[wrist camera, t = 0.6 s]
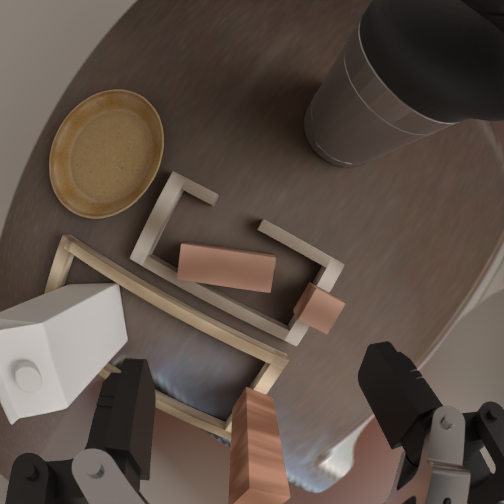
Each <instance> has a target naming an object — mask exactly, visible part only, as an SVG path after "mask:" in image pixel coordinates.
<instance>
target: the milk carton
mask: <svg viewBox="0 0 504 504" xmlns="http://www.w3.org/2000/svg"><path fill="white" fill-rule="evenodd" d="M127 341H128V338H127V332H126V327H125V321H124V315H123V308H122V302H121V294H120V287H119V284H118V283H94V284H69V285H66V286H63V287H61V288H58V289H56V290H53V291H51V292H48V293H46V294H43V295H41V296H38V297H36V298H33V299H31V300H28V301H26V302H23V303H21V304H19V305H16V306H14V307H11V308H9V309H6V310H4V311H2V312H0V402H1V405H2V407H3V409H4V411H5V414H6V416H7V418H8V420H9V422H10V424H13V423H14V422H15V421H17V420H18V419H19V418H23V417H29V416H34V415H39V414H44V413H49V412H53V411H58V410H62V409H66V408H67V407H68V406H69V405H70V404H71V403H72V402H73V401H74V400H75V398H76V397H77V396H78V395H79V394H80V393H81V392H82V391H83V389H84V388H85V387H86V386H87V385H88V384H89V383H90V382H91V381H92V379H93V378H94V377H95V376H96V375H97V374H98V373H99V372H100V371H101V369H102V368H103V367H104V366H105V365H106V364H107V363H108V362H109V361H110V360H111V359H112V357H113V356H114V355H115V354H116V353H117V352H118V351H119V350H120V349H121V348H122V347H123V346H124V344H125V343H126V342H127Z"/></svg>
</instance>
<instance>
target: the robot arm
mask: <svg viewBox="0 0 504 504" xmlns="http://www.w3.org/2000/svg"><path fill="white" fill-rule="evenodd" d="M469 118H473V119H480V120H487V121H503V120H504V0H373V1H372V2H371V3H370V5H369V7H368V8H367V10H366V11H365V13H364V15H363V16H362V18H361V20H360V21H359V23H358V24H357V26H356V28H355V29H354V31H353V32H352V34H351V36H350V37H349V39H348V41H347V43H346V44H345V46H344V48H343V49H342V51H341V53H340V54H339V56H338V58H337V59H336V61H335V63H334V64H333V66H332V68H331V69H330V71H329V73H328V74H327V76H326V78H325V79H324V81H323V83H322V84H321V86H320V88H319V89H318V91H317V93H316V94H315V96H314V98H313V99H312V101H311V103H310V105H309V106H308V108H307V110H306V113H305V116H304V130H305V135H306V137H307V140H308V142H309V144H310V145H311V147H312V149H313V150H314V151H315V152H316V153H317V154H318V155H319V156H320V157H321V158H323V159H324V160H325V161H327V162H329V163H331V164H333V165H336V166H340V167H349V168H351V167H357V166H360V165H362V164H365V163H367V162H369V161H371V160H374V159H376V158H379V157H381V156H383V155H385V154H387V153H390V152H392V151H394V150H396V149H399V148H401V147H403V146H405V145H408V144H410V143H412V142H415V141H417V140H419V139H422V138H424V137H426V136H428V135H431V134H433V133H435V132H437V131H440V130H442V129H444V128H447V127H449V126H451V125H454V124H456V123H459V122H461V121H463V120H466V119H469ZM358 382H359V385H360V387H361V389H362V391H363V393H364V395H365V397H366V399H367V401H368V403H369V405H370V407H371V409H372V411H373V413H374V415H375V417H376V419H377V420H378V423H379V425H380V427H381V429H382V431H383V433H384V435H385V437H386V439H387V441H388V443H389V445H390V447H391V449H395V448H398V447H400V446H403V448H404V451H403V453H402V455H401V459H400V462H399V466H398V470H397V473H396V477H395V480H394V484H393V487H392V490H391V493H390V495H389V496H388V498H387V499H386V501H385V502H384V504H504V410H503V409H502V407H501V406H500V405H499V404H497V403H495V402H486V403H484V404H483V405H482V406H481V407H480V409H479V410H478V411H477V412H471V413H461V412H460V411H459V410H458V409H456V408H454V407H451V406H443V405H442V404H441V402H440V401H439V399H438V398H437V396H436V395H435V393H434V392H433V391H432V389H431V388H430V386H429V385H428V384H427V382H426V381H425V379H424V378H422V375H421V373H420V372H419V371H417V368H416V366H415V365H414V364H413V362H412V361H411V360H410V359H409V358H408V357H407V356H405V355H404V354H402V353H401V352H397V351H396V350H395V348H394V347H393V345H392V344H391V343H390V342H388V341H386V342H381V343H375V344H370V345H369V346H368V348H367V351H366V353H365V356H364V359H363V362H362V364H361V367H360V369H359V372H358ZM99 396H100V397H99V399H98V402H97V408H96V410H95V414H94V417H93V421H92V426H91V429H90V434H89V439H88V442H87V446H86V448H85V449H84V450H83V451H81V452H80V453H78V454H77V455H76V456H75V458H73V459H70V460H64V461H50V462H45V461H44V460H43V459H42V458H41V457H40V456H38V455H36V454H33V453H25V454H22V455H20V456H19V457H17V458H16V460H15V461H14V463H13V466H12V471H11V475H10V480H9V485H8V491H7V497H6V503H5V504H149V503H148V502H147V500H146V499H145V498H144V497H143V495H142V494H141V493H140V491H139V489H140V480H149V478H150V460H151V447H152V433H153V423H154V413H155V404H156V394H155V387H154V383H153V380H152V376H151V373H150V369H149V365H148V362H147V360H146V359H127V358H126V359H125V360H124V362H123V365H122V369H121V373H114V372H111V374H110V375H109V376H108V377H107V378H106V380H105V381H104V382H103V384H102V388H101V392H100V395H99ZM484 446H485V447H486V449H487V450H488V452H489V454H490V456H491V458H492V459H493V461H494V463H495V466H496V471H495V473H494V474H492V473H491V472H490V470H489V467H488V466H487V464H486V462H485V460H484V458H483V456H482V454H481V452H480V449H481V448H483V447H484Z"/></svg>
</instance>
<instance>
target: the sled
mask: <svg viewBox="0 0 504 504" xmlns="http://www.w3.org/2000/svg"><path fill="white" fill-rule="evenodd" d="M74 255H75V256H76V257H78V258H79V259H80V260H82V261H83V262H85V263H86V264H88V265H90V266H91V267H93V268H94V269H96V270H97V271H99V272H100V273H102V274H103V275H105V276H107V277H108V278H110V279H111V280H113V281H115V282H116V283H118V284H119V285H121V286H123V287H124V288H126V289H128V290H129V291H131V292H133V293H134V294H136V295H138V296H139V297H141V298H143V299H144V300H146V301H148V302H150V303H151V304H153V305H155V306H157V307H158V308H160V309H162V310H164V311H165V312H167V313H169V314H171V315H173V316H175V317H176V318H178V319H180V320H182V321H184V322H186V323H187V324H189V325H191V326H193V327H195V328H197V329H199V330H201V331H203V332H205V333H207V334H209V335H211V336H213V337H215V338H217V339H219V340H221V341H223V342H225V343H227V344H229V345H231V346H233V347H235V348H237V349H239V350H241V351H243V352H245V353H248V354H250V355H252V356H254V357H256V358H258V359H261V360H263V361H265V364H264V366H263V367H262V369H261V370H260V372H259V373H258V375H257V376H256V378H255V379H254V381H253V382H252V384H251V385H250V387H249V388H248V387H246V388H245V389H244V391H243V392H242V394H241V395H240V397H239V398H238V400H237V401H236V403H235V404H234V406H233V407H232V413H231V415H230V416H229V418H228V419H227V421H226V422H225V421H222V420H220V419H217V418H215V417H213V416H210V415H208V414H206V413H203V412H201V411H199V410H197V409H194V408H192V407H190V406H188V405H186V404H183V403H181V402H179V401H177V400H175V399H173V398H171V397H169V396H167V395H165V394H163V393H161V392H159V391H157V390H155V394H156V404H155V407H157V408H158V409H160V410H162V411H165V412H166V413H169V414H171V415H173V416H175V417H177V418H179V419H181V420H184V421H186V422H188V423H190V424H192V425H195V426H197V427H199V428H202V429H204V430H207V431H209V432H212V433H214V434H217V435H219V436H222V437H224V438H227V439H230V440H231V451H230V477H229V504H283V503H284V502H286V501H287V500H288V499H289V498H290V492H289V487H288V481H287V475H286V469H285V464H284V458H283V453H282V447H281V441H280V436H279V430H278V424H277V419H276V413H275V407H274V402H273V397H270V396H268V395H266V394H267V393H268V391H269V390H270V388H271V387H272V385H273V384H274V382H275V381H276V379H277V378H278V376H279V375H280V373H281V372H282V370H283V369H284V367H285V366H286V364H287V363H288V361H289V360H288V357H287V354H286V353H283V352H281V351H279V350H277V349H275V348H272V347H270V346H268V345H266V344H264V343H262V342H260V341H258V340H255V339H253V338H251V337H249V336H247V335H245V334H243V333H241V332H239V331H237V330H235V329H233V328H231V327H229V326H227V325H225V324H223V323H221V322H219V321H217V320H215V319H213V318H211V317H209V316H207V315H205V314H204V313H202V312H200V311H198V310H196V309H194V308H192V307H190V306H189V305H187V304H185V303H183V302H181V301H179V300H178V299H176V298H174V297H172V296H170V295H169V294H167V293H165V292H163V291H161V290H160V289H158V288H156V287H154V286H153V285H151V284H149V283H147V282H146V281H144V280H142V279H141V278H139V277H137V276H136V275H134V274H132V273H130V272H129V271H127V270H125V269H124V268H122V267H121V266H119V265H117V264H116V263H114V262H112V261H111V260H109V259H108V258H106V257H104V256H103V255H101V254H100V253H98V252H96V251H95V250H93V249H92V248H90V247H89V246H87V245H86V244H84V243H83V242H81V241H79V240H78V239H76V238H75V237H73V236H72V235H62V238H61V241H60V243H59V246H58V249H57V252H56V255H55V258H54V261H53V264H52V268H51V271H50V274H49V278H48V281H47V285H46V288H45V292H44V294H46V293H48V292H51V291H53V290H56V289H58V288H61V287H63V286H64V285H65V282H66V279H67V275H68V272H69V269H70V267H71V264H72V261H73V258H74ZM111 372H114V373H121V370H120V369H118V368H116V367H115V366H113V365H111V364H110V363H107V364H106V365H105V366H104V367H103V368H102V369H101V371H100V372H99V373H98V374H99V375H100V376H102V377H103V378H105V379H106V378H107V377H108V376H109V375H110V374H111Z"/></svg>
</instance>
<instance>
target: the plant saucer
mask: <svg viewBox="0 0 504 504" xmlns="http://www.w3.org/2000/svg"><path fill="white" fill-rule="evenodd" d="M163 148H164V134H163V127H162V123H161V120H160V117H159V115H158V113H157V111H156V110H155V108H154V107H153V106H152V105H151V104H150V102H149V101H148V100H146V99H145V98H144V97H142V96H141V95H139V94H137V93H134V92H132V91H128V90H121V89H120V90H119V89H118V90H117V89H116V90H108V91H103V92H100V93H97V94H95V95H92V96H90V97H89V98H87V99H85V100H84V101H82V102H81V103H80V104H78V105H77V106H76V107H75V108H74V109H73V110H72V111H71V112H70V113H69V114H68V115H67V117H66V118H65V119H64V121H63V122H62V124H61V125H60V127H59V129H58V131H57V133H56V136H55V138H54V140H53V144H52V147H51V152H50V157H49V174H50V180H51V184H52V187H53V190H54V192H55V194H56V196H57V197H58V199H59V201H60V202H61V203H62V204H63V205H64V206H65V207H66V208H67V209H68V210H70V211H71V212H73V213H74V214H76V215H79V216H82V217H85V218H91V219H101V218H107V217H111V216H113V215H116V214H118V213H121V212H122V211H124V210H126V209H127V208H129V207H130V206H131V205H133V204H134V203H135V202H136V201H137V200H138V199H139V198H140V197H141V196H142V195H143V194H144V192H145V191H146V190H147V189H148V187H149V186H150V184H151V183H152V181H153V179H154V177H155V176H156V174H157V171H158V169H159V166H160V163H161V159H162V155H163Z"/></svg>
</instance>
